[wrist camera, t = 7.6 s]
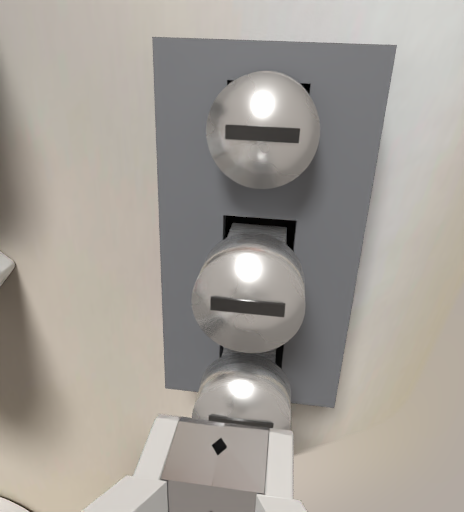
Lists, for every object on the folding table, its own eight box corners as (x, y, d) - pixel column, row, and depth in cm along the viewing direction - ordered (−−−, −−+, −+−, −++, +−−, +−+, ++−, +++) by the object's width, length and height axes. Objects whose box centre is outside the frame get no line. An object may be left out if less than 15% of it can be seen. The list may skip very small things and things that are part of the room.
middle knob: (297, 292, 20) (299, 360, 16) (213, 284, 21) (191, 348, 16) (307, 211, 19) (311, 260, 14) (215, 204, 19) (190, 250, 15)
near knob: (308, 163, 20) (313, 193, 16) (224, 158, 21) (204, 186, 16) (318, 70, 19) (327, 74, 14) (227, 67, 19) (206, 69, 15)
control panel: (327, 350, 27) (334, 408, 23) (185, 335, 28) (165, 388, 24) (373, 48, 20) (396, 45, 16) (182, 42, 21) (152, 36, 17)
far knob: (287, 384, 23) (286, 467, 18) (211, 376, 23) (191, 455, 18) (295, 319, 21) (295, 392, 16) (213, 311, 21) (191, 380, 17)
